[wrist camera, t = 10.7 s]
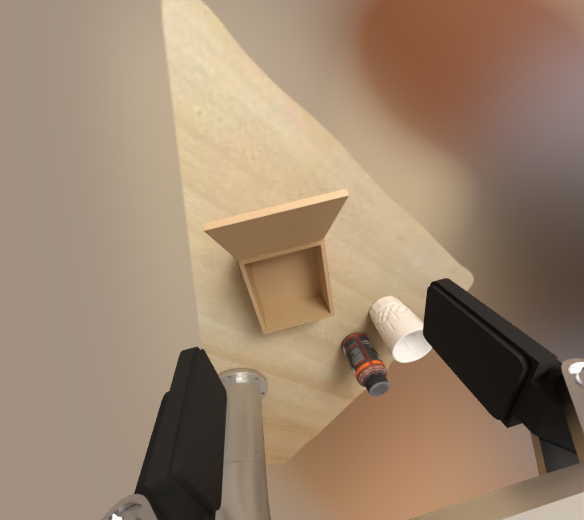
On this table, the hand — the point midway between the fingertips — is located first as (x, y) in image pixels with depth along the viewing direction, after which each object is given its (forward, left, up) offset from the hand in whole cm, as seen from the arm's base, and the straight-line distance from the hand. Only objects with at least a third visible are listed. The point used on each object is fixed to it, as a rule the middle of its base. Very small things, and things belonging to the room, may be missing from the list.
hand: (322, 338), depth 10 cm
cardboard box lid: (-2, 0, -17) cm, 17 cm away
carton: (-14, 0, -28) cm, 31 cm away
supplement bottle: (-36, -11, -28) cm, 47 cm away
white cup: (-29, -18, -28) cm, 44 cm away
